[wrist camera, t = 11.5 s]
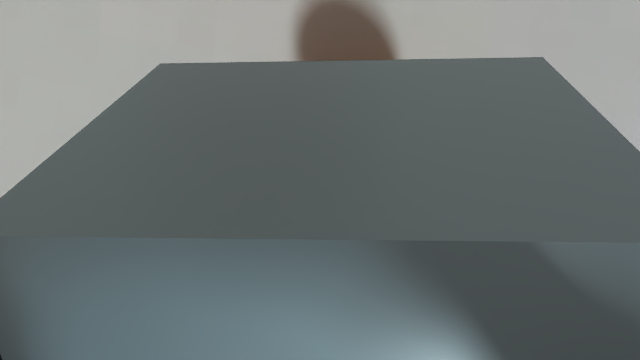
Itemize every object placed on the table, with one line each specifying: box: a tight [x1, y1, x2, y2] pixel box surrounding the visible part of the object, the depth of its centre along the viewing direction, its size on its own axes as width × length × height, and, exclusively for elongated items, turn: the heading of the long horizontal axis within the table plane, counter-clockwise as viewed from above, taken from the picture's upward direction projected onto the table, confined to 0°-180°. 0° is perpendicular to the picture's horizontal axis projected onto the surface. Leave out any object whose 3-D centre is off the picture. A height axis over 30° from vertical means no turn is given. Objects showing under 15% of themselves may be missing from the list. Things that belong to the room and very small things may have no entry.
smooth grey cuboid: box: [0, 57, 640, 360], centre depth 14 cm, size 10×10×9 cm
